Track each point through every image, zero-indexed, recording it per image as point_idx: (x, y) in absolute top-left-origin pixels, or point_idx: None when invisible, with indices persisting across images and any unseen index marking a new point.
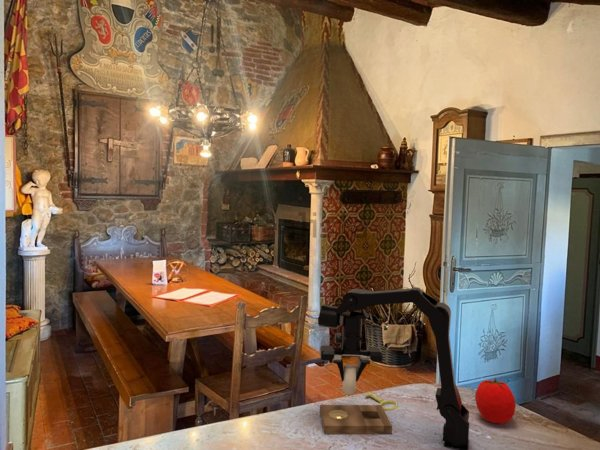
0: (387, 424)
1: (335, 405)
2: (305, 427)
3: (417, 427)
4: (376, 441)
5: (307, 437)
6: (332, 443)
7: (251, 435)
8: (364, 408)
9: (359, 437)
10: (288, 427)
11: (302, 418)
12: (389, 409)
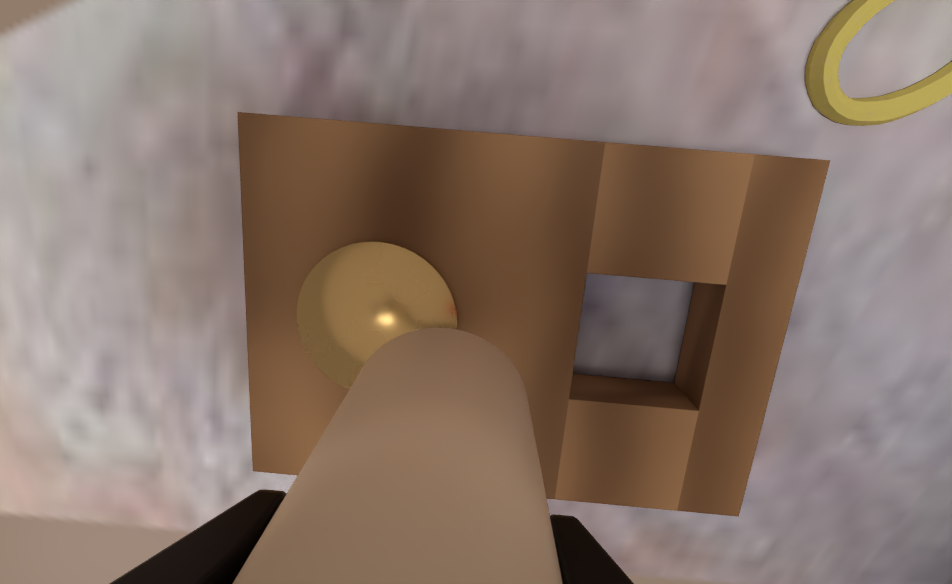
0: (713, 497)
1: (381, 136)
2: (162, 344)
3: (934, 413)
4: None
5: (177, 462)
6: None
7: None
8: (635, 221)
9: None
10: (49, 334)
11: (136, 212)
12: (882, 121)
